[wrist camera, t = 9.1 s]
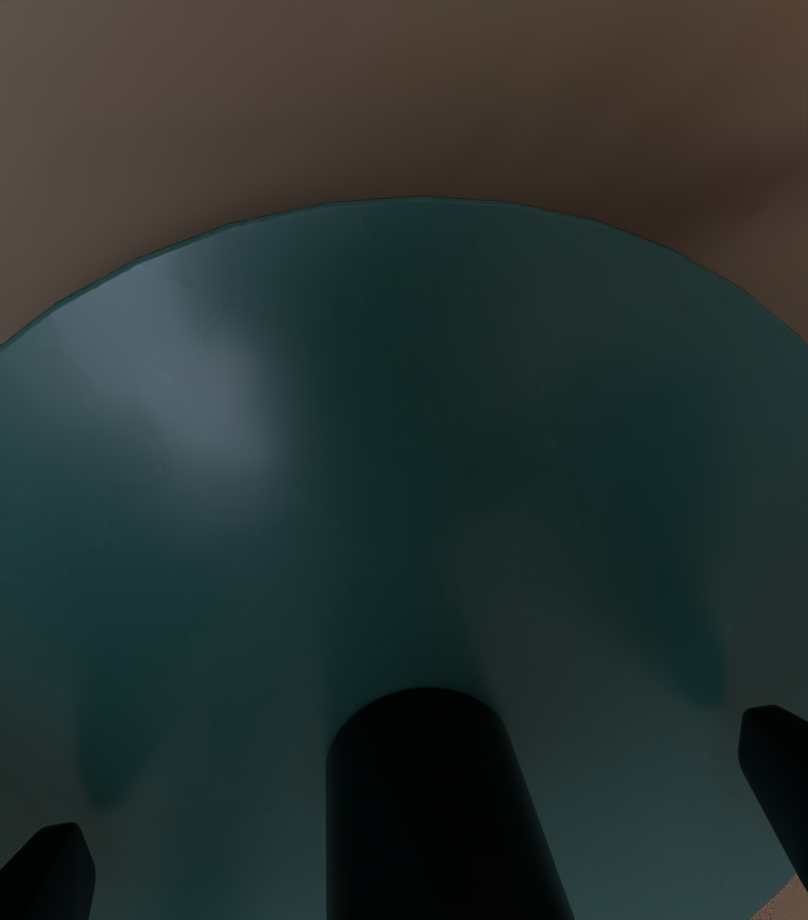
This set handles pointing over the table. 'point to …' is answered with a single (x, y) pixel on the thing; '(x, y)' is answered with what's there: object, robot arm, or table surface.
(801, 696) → the pot lid
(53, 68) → the table surface
